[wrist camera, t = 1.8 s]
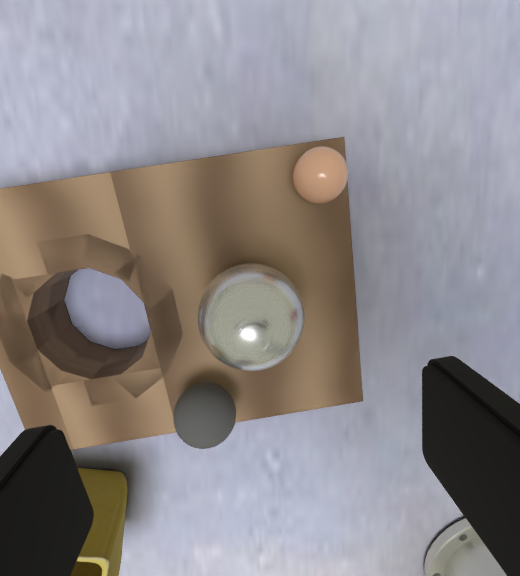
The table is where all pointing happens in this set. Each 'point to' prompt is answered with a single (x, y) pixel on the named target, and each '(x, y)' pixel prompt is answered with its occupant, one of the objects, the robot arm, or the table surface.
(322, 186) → the terracotta ball
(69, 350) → the board
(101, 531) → the flower pot
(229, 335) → the steel ball
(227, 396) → the gray ball
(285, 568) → the table surface
